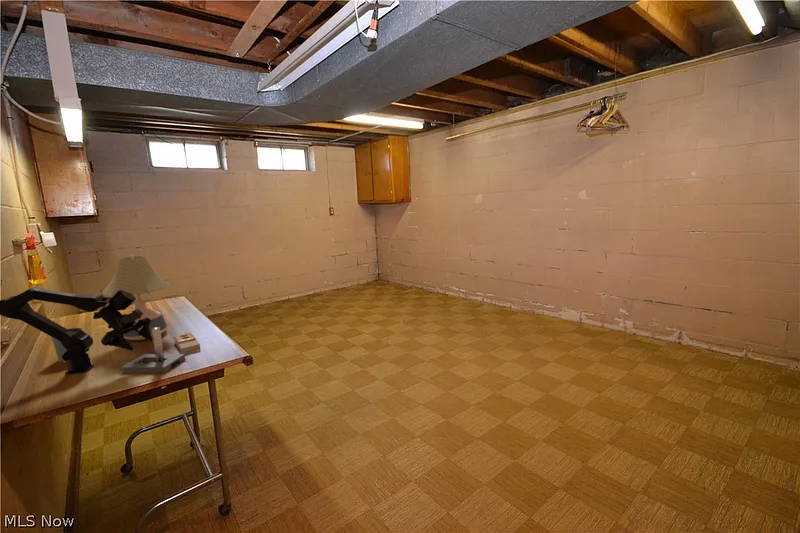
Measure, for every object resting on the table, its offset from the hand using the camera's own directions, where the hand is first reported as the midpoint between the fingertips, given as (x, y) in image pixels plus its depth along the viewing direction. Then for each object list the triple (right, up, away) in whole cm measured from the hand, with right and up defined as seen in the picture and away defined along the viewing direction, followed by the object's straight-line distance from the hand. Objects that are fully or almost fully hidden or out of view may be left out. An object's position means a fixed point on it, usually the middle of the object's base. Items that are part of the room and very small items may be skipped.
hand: (143, 345), depth 144 cm
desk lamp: (-24, -3, +36) cm, 43 cm away
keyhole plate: (+4, -9, +1) cm, 10 cm away
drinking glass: (-40, -8, +12) cm, 42 cm away
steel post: (+7, -9, +1) cm, 11 cm away
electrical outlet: (+6, -6, +20) cm, 22 cm away
